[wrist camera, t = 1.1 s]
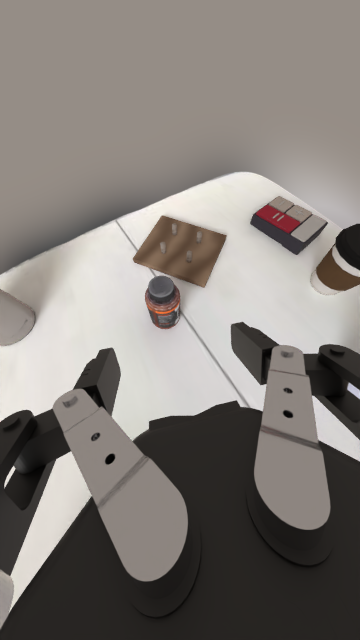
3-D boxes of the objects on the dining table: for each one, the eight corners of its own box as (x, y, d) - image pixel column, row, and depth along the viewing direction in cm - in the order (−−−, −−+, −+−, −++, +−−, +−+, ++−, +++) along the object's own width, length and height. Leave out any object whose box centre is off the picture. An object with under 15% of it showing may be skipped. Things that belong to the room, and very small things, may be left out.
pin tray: (133, 262, 44) (130, 250, 40) (162, 219, 50) (161, 206, 46) (204, 287, 41) (206, 277, 38) (225, 239, 47) (229, 227, 44)
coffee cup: (352, 277, 43) (413, 236, 32) (343, 313, 39) (408, 280, 28) (306, 258, 45) (349, 213, 34) (293, 290, 41) (335, 251, 30)
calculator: (279, 193, 49) (331, 219, 45) (272, 208, 53) (319, 234, 48) (253, 211, 46) (306, 242, 42) (248, 226, 50) (296, 256, 45)
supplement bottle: (185, 319, 38) (188, 290, 28) (161, 335, 37) (155, 310, 26) (169, 299, 40) (166, 264, 29) (146, 313, 38) (134, 282, 28)
